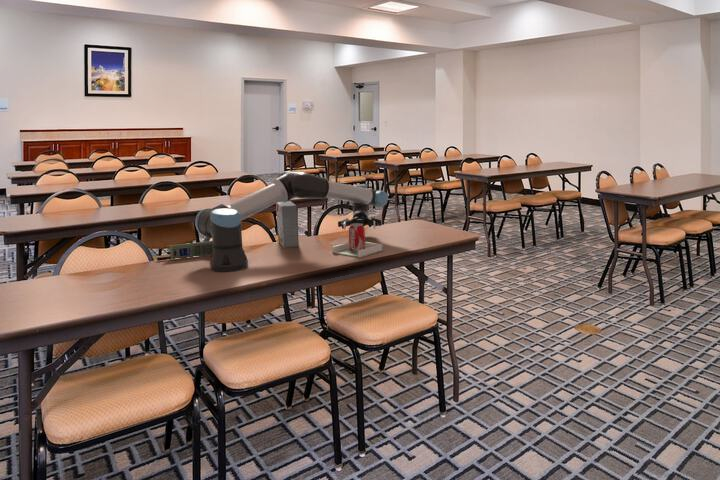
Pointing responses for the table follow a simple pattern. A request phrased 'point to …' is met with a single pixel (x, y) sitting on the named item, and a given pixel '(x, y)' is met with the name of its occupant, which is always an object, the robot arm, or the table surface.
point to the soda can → (356, 237)
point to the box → (369, 249)
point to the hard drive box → (287, 224)
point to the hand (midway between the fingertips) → (359, 226)
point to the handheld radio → (189, 250)
